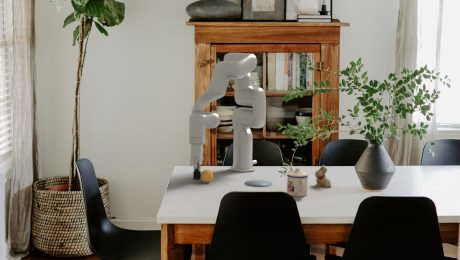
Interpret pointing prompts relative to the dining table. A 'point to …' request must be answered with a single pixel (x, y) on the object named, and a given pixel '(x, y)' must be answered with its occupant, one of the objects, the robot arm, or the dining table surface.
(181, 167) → the dining table surface
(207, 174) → the ball
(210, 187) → the dining table surface
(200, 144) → the robot arm
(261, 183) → the disc
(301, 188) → the teacup with lid
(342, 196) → the dining table surface
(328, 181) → the chocolate bunny
